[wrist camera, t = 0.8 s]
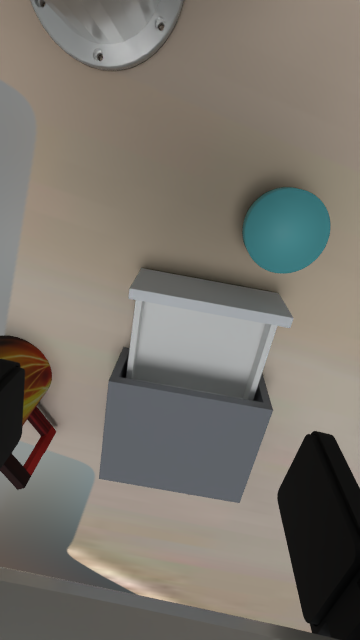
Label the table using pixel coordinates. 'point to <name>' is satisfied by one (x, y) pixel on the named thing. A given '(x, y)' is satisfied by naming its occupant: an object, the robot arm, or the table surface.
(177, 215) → the table surface
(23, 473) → the mug
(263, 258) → the disc
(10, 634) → the robot arm
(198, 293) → the grey drawer
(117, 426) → the housing
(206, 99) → the table surface
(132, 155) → the table surface
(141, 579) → the table surface
